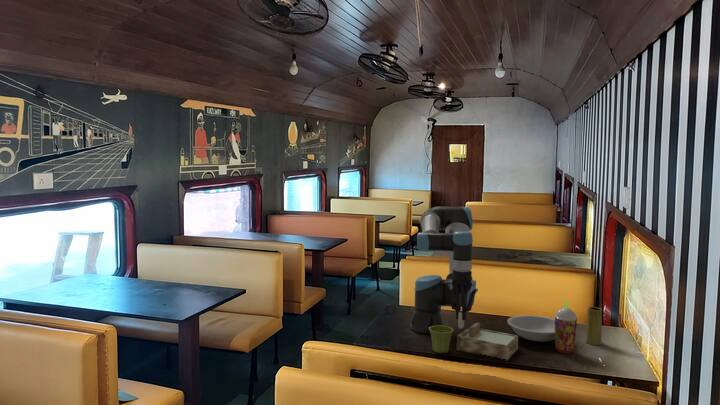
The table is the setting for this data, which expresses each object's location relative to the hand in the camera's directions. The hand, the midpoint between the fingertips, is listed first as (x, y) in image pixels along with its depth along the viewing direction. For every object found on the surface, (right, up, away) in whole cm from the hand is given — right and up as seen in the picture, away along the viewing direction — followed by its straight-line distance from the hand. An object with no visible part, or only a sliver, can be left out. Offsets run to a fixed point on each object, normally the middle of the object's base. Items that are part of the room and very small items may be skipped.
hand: (461, 327), depth 210 cm
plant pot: (-9, -8, -6) cm, 14 cm away
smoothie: (+39, -8, -7) cm, 41 cm away
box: (+9, -7, -5) cm, 13 cm away
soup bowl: (+33, -7, +8) cm, 35 cm away
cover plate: (+10, -3, -6) cm, 12 cm away
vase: (+55, -7, +3) cm, 56 cm away
